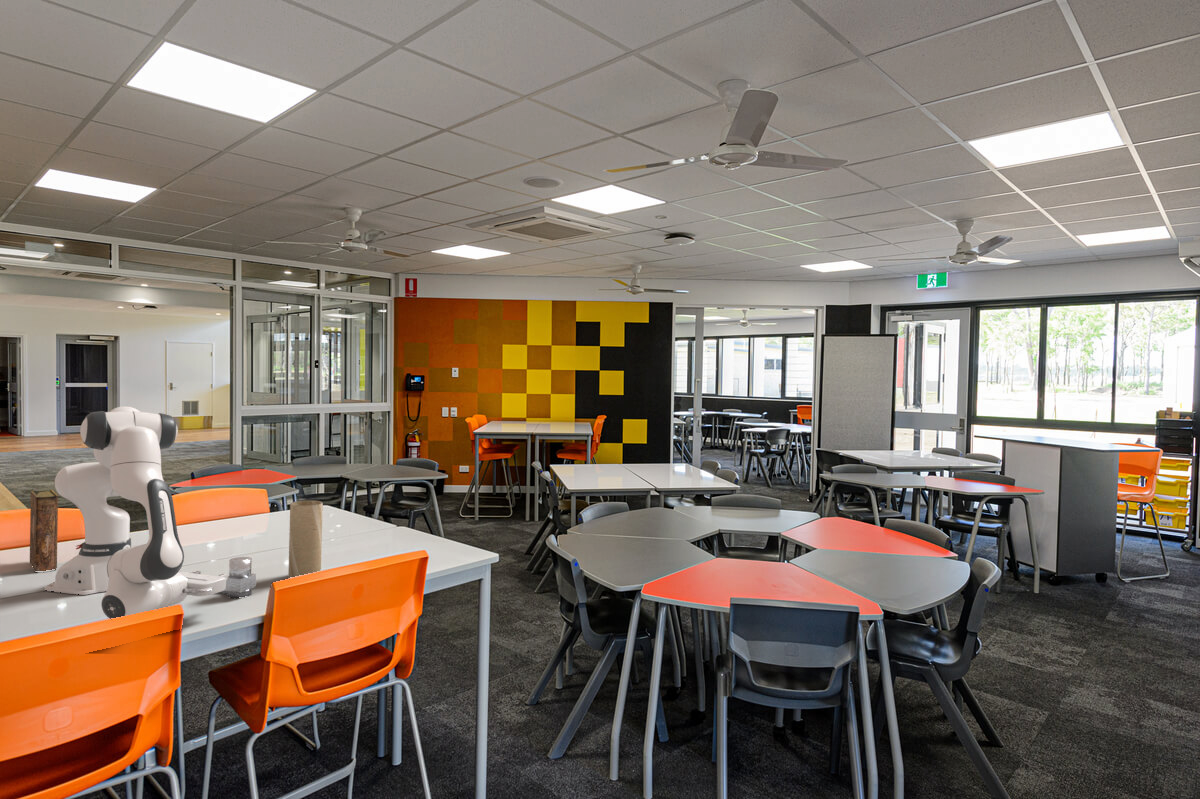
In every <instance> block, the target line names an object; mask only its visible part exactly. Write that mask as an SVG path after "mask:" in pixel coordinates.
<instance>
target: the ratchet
mask: <svg viewBox="0 0 1200 799" xmlns="http://www.w3.org/2000/svg"><path fill="white" fill-rule="evenodd" d="M252 589H253V588H251V589H249V590H246V591H244V592H241V593H239V592H231V591H221V592H218V593H217V594H220V593H224V594H223V595H227V594H228V595H227V597H230V598H229V599H234V598H236V599H240V598H239V597H244V598H246V597H245V596H248V597H250V596H251V595H252V594H253V592H252ZM249 595H250V596H249Z"/></svg>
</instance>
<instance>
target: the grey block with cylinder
mask: <svg viewBox="0 0 1200 799" xmlns="http://www.w3.org/2000/svg"><path fill="white" fill-rule="evenodd" d="M228 562H229V564H228V566H229V567H228V579H227V580H226V588H225V590H224V591H231V592H239V593H241V592H244V591H246V590H249V589H251V588H252V589H253V588H255V587H257V583H256V581H257V580H256V579H257V575H256V574H257V573H253V572H252V566H253V564H252V563H253V558H252V557H249V556H237V557H234V558H231V559H229V560H228Z"/></svg>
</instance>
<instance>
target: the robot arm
mask: <svg viewBox="0 0 1200 799" xmlns="http://www.w3.org/2000/svg"><path fill="white" fill-rule="evenodd" d="M79 430H80V431H79V432H80V437H81V440H82V442H83V444H84V445H85V446H86V447H88V448H90V449H93V455H94V459H95V460H96V461H95V462H93V461H92V462H82V463H76V464H71V465H70V464H69V465H67V466H63V467H62V468H61V469H60V470H59V471H58V472H57V474H56V475H55V478H54V487H55V490H56V492H57V494H58V495H60V496H61V498H64V499H66V500H68V501H70V502H71V503H72V504H73V505H75V506H76V507H77V509H79V511H80V513H81V514H82V517H83V524H84V542H81V544H80V543H79V544H77V545H75V547H76V548H75V550H79V549H80V550H79V551H78V554H77V555H75V557H73V558H72V559H70V560H68V561H67V562H66V563H64V564H63V565H62V566H60V567H59V568H57V571H56V574H55V580H54V582H51V583H49V584H47V585H46V586H45V588H44V591H45V590H47V591H46V592H51V591H54V592H53V593H60V592H61V594H69V595H78V594H79V595H80V596H87V595H92V594H96V593H104V592H105V593H104V595H103V596H102V598H101V609H102V612H103V614H104V615H105V616H106V617H107V618H108V619H110V620H112V619H111V618H116V617H121V616H126V615H131V614H136V613H140V612H144V611H150V610H154V609H159V608H163V607H168V606H170V607H172V606H175V605H178V604H181V603H182V602H183V601H185V599H186V598H187V596H194V597H207V596H211V595H215V594H219V593H218V592H221V591H224V590H225V588H226V580H227V579H228V576H229V574H226V573H222V574H219V575H210V574H203V573H202V574H201V572H202V571H200V570H194V571H187V572H185V571H180V570H181V568H182V567H183V564H184V561H185V554H184V550H183V546H182V544H181V541H180V539H179V534H178V528H177V527H178V526H177V520H176V512H175V505H174V500H173V495H172V494H173V493H172V492H171V491H172V490H171V488H170V486H169V484H168V483H167V482H166V481H165V480H164V478H163V477H164V476H163V474H162V456H161V455H162V454H161V452H162V451H161V450H166V449H169V448H171V447H172V446H173V445H174V443H175V441H176V439H177V437H178V433H179V431H178V430H179V428H178V425H177V422H176V419H175V418H174V417H173V416H172V415H169V414H166V413H161V412H159V413H153V412H146V411H140V410H139V409H137V408H135V407H132V406H125V405H124V406H123V405H122V406H118V407H115V408H113V409H111V410H110V411H106V412H105V411H104V410H100V411H99V410H98V411H93V412H89V414H86V416H85V418H84V419H83V421H82V423H81V426H80V428H79ZM110 497H121V498H123V499H125V500H129V501H133V502H138V503H139V504H141V505H142V506H143V508H144V509H145V511H146V512H145V513H146V519H147V527H148V534H149V538H148V541H147V542H146V543H145V544H144V543H143V544H139V545H135V546H134V545H133V546H132V538H131V537H130V531H131V530H130V529H131V528H130V527H131V525H130V524H131V523H130V522H131V518H130V514H129V513H128V512H127V511H126V510H125V509H122V508H119V507H116V506H114V505H109V504H108V503H107V502H108V501H107V499H108V498H110ZM168 608H169V607H168Z"/></svg>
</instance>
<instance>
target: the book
mask: <svg viewBox="0 0 1200 799" xmlns="http://www.w3.org/2000/svg"><path fill="white" fill-rule="evenodd" d="M58 512H59V494H58V493H56V492H55V491H54V490H53V489H50V490H42V491H33V490H31V491H30V514H29V515H30V520H29V526H30V527H29V564H30V563H31V564H32V566H33V568H34V570H35V571H46V570H52V569H56V568H57V569H58V530H59V528H58V527H59V526H58V524H59V523H58V522H59V521H58V520H59V518H58V517H59V515H58V514H59V513H58ZM31 564H30V565H31ZM32 566H31V567H32ZM33 568H32V569H33ZM34 570H33V571H34ZM35 571H34V572H35Z"/></svg>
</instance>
